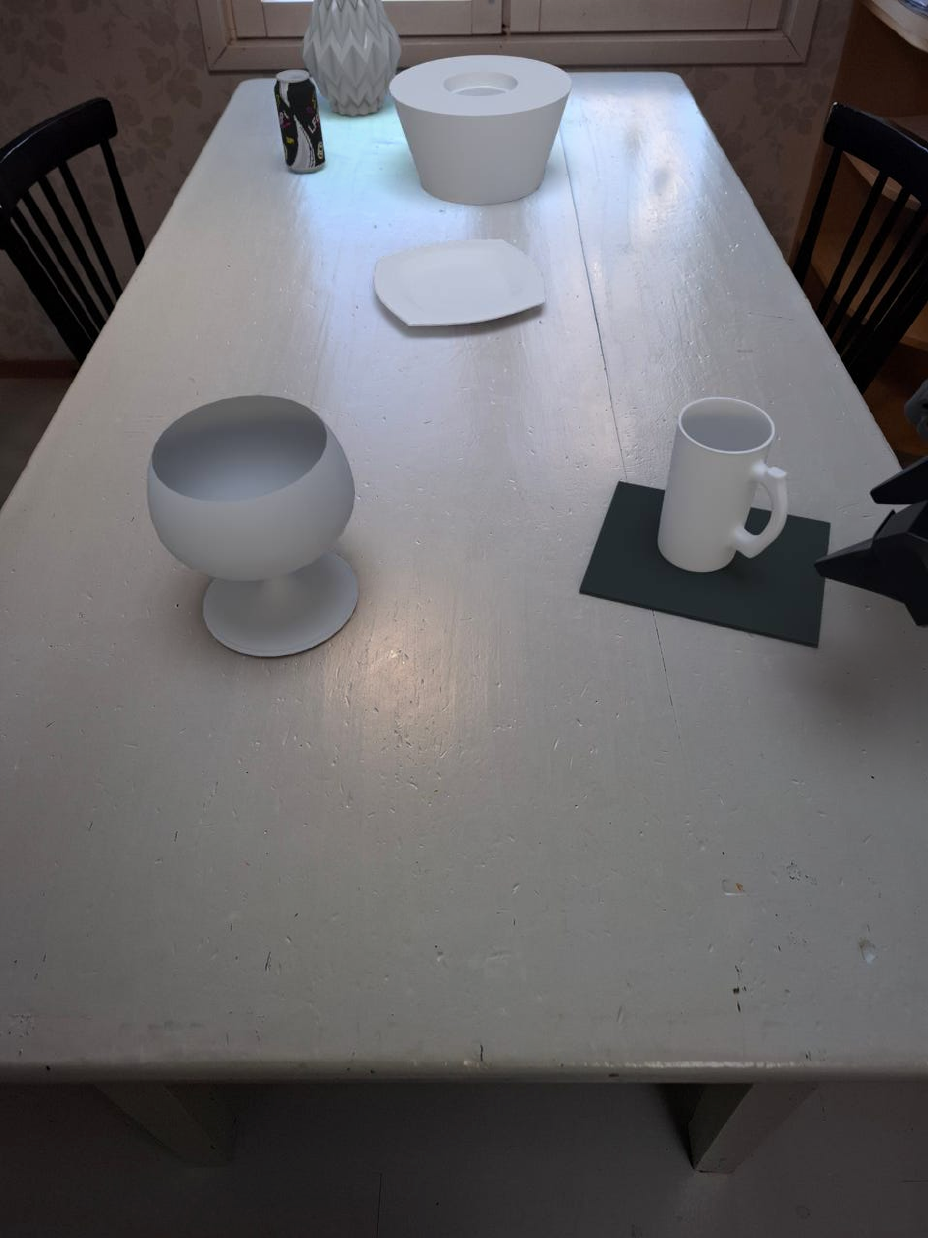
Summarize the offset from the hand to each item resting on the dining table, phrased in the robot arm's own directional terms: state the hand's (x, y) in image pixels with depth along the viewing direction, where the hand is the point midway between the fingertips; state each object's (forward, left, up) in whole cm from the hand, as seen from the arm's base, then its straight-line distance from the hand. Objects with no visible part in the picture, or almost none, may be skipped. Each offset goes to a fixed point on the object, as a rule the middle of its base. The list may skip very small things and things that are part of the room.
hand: (846, 531), depth 58 cm
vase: (+79, -93, -9) cm, 122 cm away
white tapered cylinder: (+50, -71, -9) cm, 87 cm away
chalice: (+39, +11, -9) cm, 42 cm away
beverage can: (+76, -68, -9) cm, 103 cm away
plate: (+42, -39, -9) cm, 58 cm away
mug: (+8, -4, -9) cm, 12 cm away
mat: (+8, -4, -9) cm, 13 cm away
